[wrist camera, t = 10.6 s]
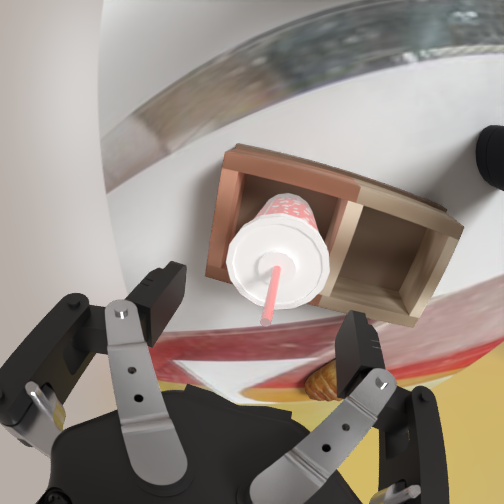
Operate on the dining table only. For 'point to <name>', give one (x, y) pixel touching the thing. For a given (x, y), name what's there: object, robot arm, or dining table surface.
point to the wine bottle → (491, 155)
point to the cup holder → (343, 231)
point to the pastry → (323, 383)
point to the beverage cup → (279, 256)
